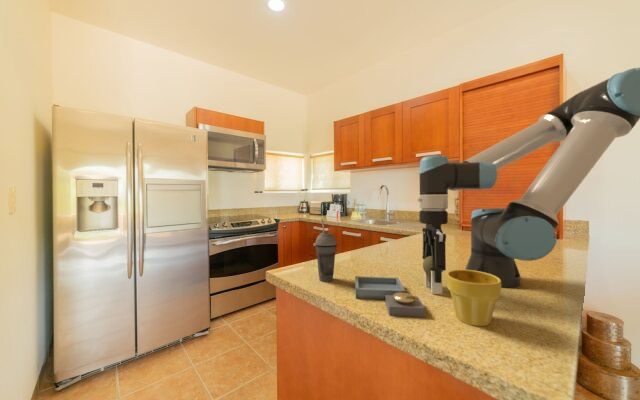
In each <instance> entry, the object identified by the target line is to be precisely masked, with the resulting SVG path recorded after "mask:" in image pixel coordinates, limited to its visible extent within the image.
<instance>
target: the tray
mask: <svg viewBox="0 0 640 400" xmlns="http://www.w3.org/2000/svg"><path fill="white" fill-rule="evenodd" d="M354 277H355V278H354V285H355V286H354V287H355V299H362V300H363V299H365V300H384V301H385V295H394V294H395V293H399V292H403V293H407V290H406V289H405V287H404V285H403V283H402V282H401V281H400V280H401V279H399V277H385V276H359V275H355V276H354Z"/></svg>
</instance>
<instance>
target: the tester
mask: <svg viewBox="0 0 640 400" xmlns="http://www.w3.org/2000/svg"><path fill="white" fill-rule="evenodd" d="M412 295H413V296H414V297H415V301H414V302H412V303H402V302H398V301H396V300H394V298H393V295H385V300H384V303H385V306H386V309H387V312H388V315H389V316H393V317H394V316H395V317H396V316H398V317H419V318H426V307H425V306H424V304H423V303H422V301H421V299H420V298H419V296H418V295H416V294H412Z"/></svg>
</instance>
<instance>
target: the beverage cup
mask: <svg viewBox="0 0 640 400" xmlns="http://www.w3.org/2000/svg"><path fill="white" fill-rule="evenodd" d="M321 225H322V232H320V234H318V235H317V237H316V240H315V244H314V246H315V251H316V258H317V259H316V260H317V270H318V271H317V272H318V279H319V281H321V282H325V283H327V282H328V283H329V282H332V281H334V280H333V279H334V274H335V273H334V272H335V258H336V250H337V245H338V244H337V239H336V237H335V236H334V235H333V234H332V233H330V232H325V226H324V225H325V224H324V219H323V218H321Z"/></svg>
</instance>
